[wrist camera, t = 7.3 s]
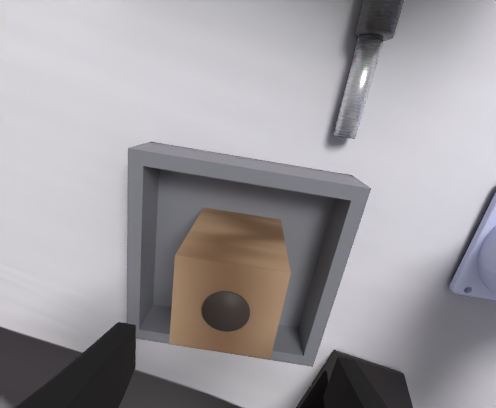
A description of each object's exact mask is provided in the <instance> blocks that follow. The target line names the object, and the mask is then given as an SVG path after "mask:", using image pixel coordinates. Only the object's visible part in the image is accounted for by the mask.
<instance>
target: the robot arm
mask: <svg viewBox="0 0 496 408" xmlns="http://www.w3.org/2000/svg"><path fill="white" fill-rule="evenodd" d="M466 287H467V288H466ZM465 288H466V289H465ZM450 289H451V290H452V291H453V292H454V293H455V294H459V295H465V296H471V297H477V298H483V299H489V300H495V301H496V193H495V195H494V197H493V199H492V201H491V203H490V205H489V207H488V209H487V211H486V213H485V215H484V217H483V219H482V221H481V223H480V225H479V227H478V229H477V231H476V233H475V235H474V237H473V239H472V241H471V243H470V245H469V247H468V249H467V251H466V253H465V255H464V257H463V259H462V261H461V263H460V265H459V267H458V269H457V272H456V274H455V276H454V278H453V280H452V282H451V284H450ZM135 350H136V325H133V324H127V323H120V322H118V323H117V324H115V325H114V326H113V327H112V328H111V329H110V330H109V331H107V332H106V333H105V334H104V335H103V336H102V337H101V338H100V339H98V340H97V341H96V342H95V343H94V344H93V345H92V346H90V347H89V348H88V349H87V350H86V351H85V352H83V353H82V354H81V355H80V356H79V357H78V358H76V359H75V360H74V361H73V362H72V363H70V364H69V365H68V366H67V367H66V368H64V369H63V370H62V371H61V372H60V373H58V374H57V375H56V376H55V377H53V378H52V379H51V380H50V381H48V382H47V383H46V384H45V385H43V386H42V387H41V388H39V389H38V390H37V391H36V392H34V393H33V394H32V395H30V396H29V397H28V398H26V399H25V400H24V401H23V402H21V403H20V404H19V405H17V406H16V407H15V408H118V407H119V405H120V403H121V401H122V399H123V396H124V394H125V391H126V389H127V386H128V384H129V382H130V379H131V377H132V374H133V372H134V369H135ZM323 399H324V408H388V407H387V405H386V404H385V402H384V401H383V400H382V398H381V397H380V395H379V394H378V392H377V391H376V390H375V388H374V387H373V385H372V384H371V382H370V381H369V379H368V378H367V377H366V375H365V374H364V372H363V371H362V369H361V368H360V367H359V365H358V364H357V362H356V361H355V360H354V359H348V358H341V357H337V360H336V363H335V365H334V368H333V371H332V374H331V377H330V379H329V382H328V385H327V388H326V391H325V393H324V396H323Z"/></svg>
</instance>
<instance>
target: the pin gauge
mask: <svg viewBox="0 0 496 408" xmlns="http://www.w3.org/2000/svg"><path fill="white" fill-rule="evenodd" d="M403 2H404V0H363V4H362V8H361V12H360V16H359V20H358V24H357V28H356V32H355V36H356V37H358V42H357V46H356V50H355V54H354V57H353V61H352V65H351V69H350V73H349V77H348V81H347V84H346V88H345V92H344V96H343V100H342V104H341V108H340V111H339V115H338V119H337V123H336V127H335V131H334V134H333V135H335V136H340V137H346V138H352V139H355V137H356V133H357V130H358V126H359V123H360V119H361V116H362V113H363V109H364V106H365V102H366V99H367V95H368V92H369V88H370V85H371V81H372V78H373V74H374V71H375V67H376V64H377V60H378V57H379V53H380V50H381V47H382V43H383V41H385V40H389V39H392V38H393V36H394V33H395V29H396V26H397V23H398V19H399V16H400V13H401V9H402V6H403Z"/></svg>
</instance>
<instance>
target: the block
mask: <svg viewBox="0 0 496 408" xmlns="http://www.w3.org/2000/svg"><path fill="white" fill-rule="evenodd" d="M290 275H291V271H290V265H289V260H288V255H287V250H286V244H285V239H284V234H283V228H282V223H281V219H275V218H268V217H262V216H256V215H249V214H243V213H237V212H230V211H224V210H217V209H211V208H205V207H204V208H203V209H202V211H201V213H200V214H199V216H198V218H197V219H196V221H195V223H194V224H193V226H192V228H191V229H190V231H189V233H188V234H187V236H186V238H185V239H184V241H183V243H182V244H181V246H180V248H179V249H178V251H177V253H176V254H175V263H174V278H173V294H172V309H171V324H170V339H169V344H172V345H178V346H185V347H191V348H198V349H204V350H211V351H217V352H224V353H230V354H237V355H244V356H250V357H257V358H263V359H271V355H272V350H273V346H274V342H275V338H276V334H277V330H278V325H279V321H280V317H281V313H282V309H283V305H284V300H285V296H286V292H287V288H288V284H289V279H290Z"/></svg>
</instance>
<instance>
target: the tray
mask: <svg viewBox="0 0 496 408" xmlns="http://www.w3.org/2000/svg"><path fill="white" fill-rule="evenodd" d="M370 190H371V188H369V187H368V186H367V185H365V184H364V183H362V182H361V181H359V180H358V179H356V178H355V177H354V176H352V175H347V174H341V173H335V172H329V171H323V170H317V169H311V168H305V167H299V166H293V165H287V164H281V163H275V162H269V161H263V160H257V159H251V158H245V157H239V156H233V155H227V154H221V153H215V152H209V151H203V150H197V149H191V148H185V147H179V146H173V145H167V144H161V143H155V142H149V143H145V144H141V145H138V146H134V147H130V148H128V237H127V324H133V325H136V338H137V339H143V340H149V341H155V342H162V343H168V344H169V339H170V324H171V309H172V294H173V278H174V263H175V254H176V253H177V251H178V249H179V248H180V246H181V244H182V243H183V241H184V239H185V238H186V236H187V234H188V233H189V231H190V229H191V228H192V226H193V224H194V223H195V221H196V219H197V218H198V216H199V214H200V213H201V211H202V209H203V208H204V207H205V208H211V209H217V210H224V211H230V212H237V213H243V214H249V215H256V216H262V217H268V218H275V219H281V223H282V228H283V234H284V239H285V244H286V250H287V255H288V260H289V265H290V271H291V275H290V279H289V284H288V288H287V292H286V296H285V300H284V305H283V309H282V313H281V317H280V321H279V325H278V330H277V334H276V338H275V342H274V346H273V350H272V355H271V359H268V360H274V361H281V362H287V363H293V364H299V365H306V366H312V367H313V364H314V361H315V358H316V355H317V352H318V349H319V346H320V343H321V340H322V336H323V333H324V330H325V327H326V324H327V321H328V318H329V315H330V312H331V309H332V306H333V303H334V300H335V297H336V294H337V291H338V288H339V285H340V282H341V279H342V275H343V272H344V269H345V266H346V263H347V260H348V257H349V254H350V251H351V248H352V245H353V242H354V239H355V236H356V233H357V230H358V227H359V224H360V221H361V218H362V214H363V211H364V208H365V205H366V202H367V199H368V196H369V193H370ZM243 356H244V355H243ZM249 357H250V356H249ZM255 358H257V357H255ZM262 359H263V358H262Z"/></svg>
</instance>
